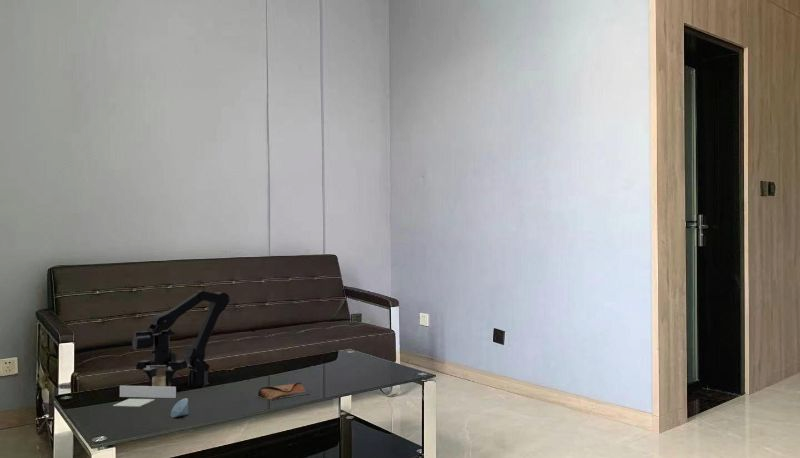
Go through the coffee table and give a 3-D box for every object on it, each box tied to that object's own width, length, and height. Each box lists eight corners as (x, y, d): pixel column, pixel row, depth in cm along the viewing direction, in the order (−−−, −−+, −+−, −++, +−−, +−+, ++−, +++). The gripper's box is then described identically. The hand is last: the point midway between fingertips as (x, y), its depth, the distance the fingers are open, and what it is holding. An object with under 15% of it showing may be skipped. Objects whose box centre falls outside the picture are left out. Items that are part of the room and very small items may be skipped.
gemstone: (194, 401, 210) (183, 393, 208) (198, 409, 204) (187, 400, 202) (177, 419, 208) (166, 410, 206) (181, 428, 202) (169, 419, 200)
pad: (154, 400, 227) (154, 399, 227) (139, 406, 217) (139, 405, 217) (129, 399, 228) (129, 398, 228) (113, 406, 218) (113, 405, 218)
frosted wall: (175, 397, 230) (175, 386, 231) (174, 398, 230) (174, 387, 230) (120, 396, 233) (120, 385, 234) (119, 396, 233) (119, 386, 233)
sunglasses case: (267, 401, 223) (263, 383, 226) (260, 408, 227) (256, 390, 230) (311, 394, 234) (307, 377, 237) (304, 400, 238) (299, 384, 241)
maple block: (170, 390, 244) (170, 374, 244) (164, 392, 239) (164, 377, 239) (158, 389, 244) (158, 374, 244) (151, 392, 239) (152, 377, 239)
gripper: (193, 344, 249) (193, 383, 248) (150, 343, 251) (150, 382, 251) (180, 348, 238) (180, 389, 237) (134, 348, 240) (134, 388, 240)
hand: (161, 387), depth 241 cm, fingers closed on maple block, 5 cm apart
